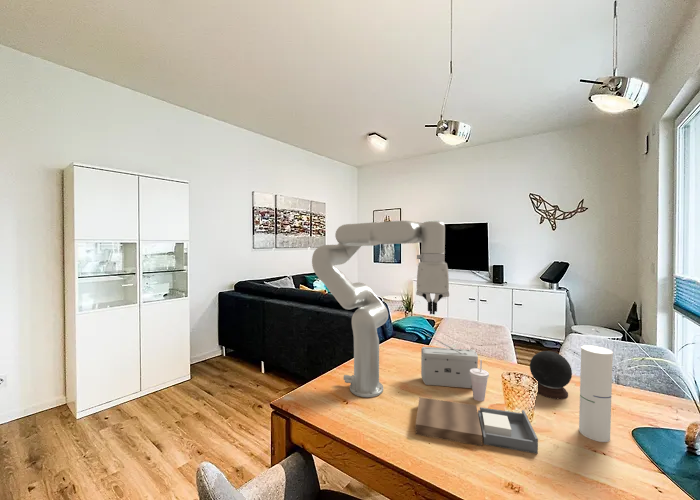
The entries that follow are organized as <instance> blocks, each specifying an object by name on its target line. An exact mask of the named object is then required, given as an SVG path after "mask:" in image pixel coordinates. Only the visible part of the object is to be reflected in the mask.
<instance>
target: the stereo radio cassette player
mask: <svg viewBox="0 0 700 500" xmlns="http://www.w3.org/2000/svg"><path fill="white" fill-rule="evenodd" d="M426 336H427V337H430V338H432V339H433V340H435V341H437V342H438V343H440V344H441V345H444V346H445V347H434V346H433V347H432V346H431V347H430V346H422V347H421V353H420V354H421V356H420V358H421V365H420V369H421V371H420V372H421V373H420V374H421V379H422V382H423V383H424V384H425V385H426V386H439V387H440V386H441V387H451V388H463V389H465V388H466V389H472V382H471V375H470V370H471V369H473V368H478V367H479V366H478V364H479V363H478V362H479V361H478V360H479V356H478V353H477V351H476V350H475V349H468V348H467V349H464V348H453V347H451V346H450V345H447V344H446V343H444V342H442V341H440V340H438V339H436V338H435V337H432V336H430V335H429V334H426ZM478 369H479V368H478Z"/></svg>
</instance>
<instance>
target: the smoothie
mask: <svg viewBox="0 0 700 500" xmlns="http://www.w3.org/2000/svg"><path fill="white" fill-rule="evenodd" d="M479 362H480V363H479V368H473V369H471V370H470V375H471V382H472V388H471V389H472V398H473V399H474V400H475V401H478V402H484V401H485V398H486V393H487V385H488V379H489V377H490V374H489V372H488V371H487V370H485V369H484V368H483V366H482V365H483V360H482V359H479Z"/></svg>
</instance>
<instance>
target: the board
mask: <svg viewBox="0 0 700 500" xmlns="http://www.w3.org/2000/svg"><path fill="white" fill-rule="evenodd" d="M415 418H416V420H415V435H417V436H424V437H428V438H429V437H430V438H434V439H435V438H436V439H439V440H440V439H441V440H445V441H450V442H452V441H453V442H457V443H461V444H462V443H464V444H468V445H475V446H479V447H480V446H481V447H483V438H482V431H481V426H480V421H479V417H478V409H477V405H476V404H472V403H470V404H469V403H463V402H455V401H448V400H442V399H441V400H440V399H435V398H429V397H428V398H427V397H421V396H420V397H419V399H418V405H417V412H416V417H415Z"/></svg>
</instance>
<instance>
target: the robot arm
mask: <svg viewBox="0 0 700 500" xmlns="http://www.w3.org/2000/svg"><path fill="white" fill-rule="evenodd" d="M334 237H335V240H336V241H337V244H324V245H320V246H318V247H316V248H315V249H314V251H313V253H312V257H311V265H312V269H313V271H314V273H315V275H316V276H317V278H318V279H319V280H320V281H321V283H323V284H324V285H325V287H326V288H327V289H328V290H329V292H330V293H331V295H332V296H333V297H334V298H335V300H336V301H337V302H338V303H339V305H340V306H341V307H342V308H343V309H345V310H353V309H356V308H357V309H356V310H355V311H354V312H353V313H352V316H351V329H352V335H353V374H352V375H349V374H344V375H343V380H344V384H345V383H346V384H350V385H349V391H350V392H351V393H352V395H353V394H354V395H355V396H358V397H362V398H374V397H377V396H379V395H381V394H382V393H383V391H384V386H383V384H382V383H381V382H380V339H379V335H378V331H377V330H378V328H380V327H381V326H383V325H385V323H386V322H387V321H388V319H389V311H388V308H387V307H386V305H385V304H384V303H383V301H381V299H380V298H379V297H378V296H377V294H376V293H375V292H374V291H373V290H372V288H370V286H369V285H367V284H366V283H363V282H354V283H353V282H351V281H350V280H349V279H348V277H347V276H346V275H345V274H344V273H343V272H342V271H341V270H339V269H338V268H337V267H336V266H340V265H344V264H346V263H347V262H349V260H350V259H351V258H352V257H353V256H354V255H355V254H356V253H357V252H358V251H359V249H361V247H364V246H365V247H366V246H367V247H369V246H371V247H373V246H378V245H393V244H402V245H403V244H404V245H405V244H417V243H421V246H420V247H421V249H420V252H421V253H420V254H417V255H416V259H417V260H420V262H418V265H417V272H416V273H417V274H416V292H415V294H416V296H419V297H422V298H423V299H425V300H426V302H427V312H429V315H433V316H435V314H436V312H438V302H440V300H441V299H442V298H448V297H450V292H449V288H450V287H449V286H450V283H449V281H450V280H449V267H448V263H447V262H446V261H445V258H446V257H445V256H446V255H445V254H446V249H445V248H446V246H445V245H446V225H445V223H444V222H443V221H439V220H438V221H435V220H433V221H432V220H431V221H429V220H428V221H424V222H418V221H417V222H416V221H412V220H395V221H394V220H393V221H378V222H376V221H375V222H362V223H346V224H342V225H340V226H338V228H337V229H336V231H335V236H334ZM431 294H433V295H434V298H433V300H432V298H431Z"/></svg>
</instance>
